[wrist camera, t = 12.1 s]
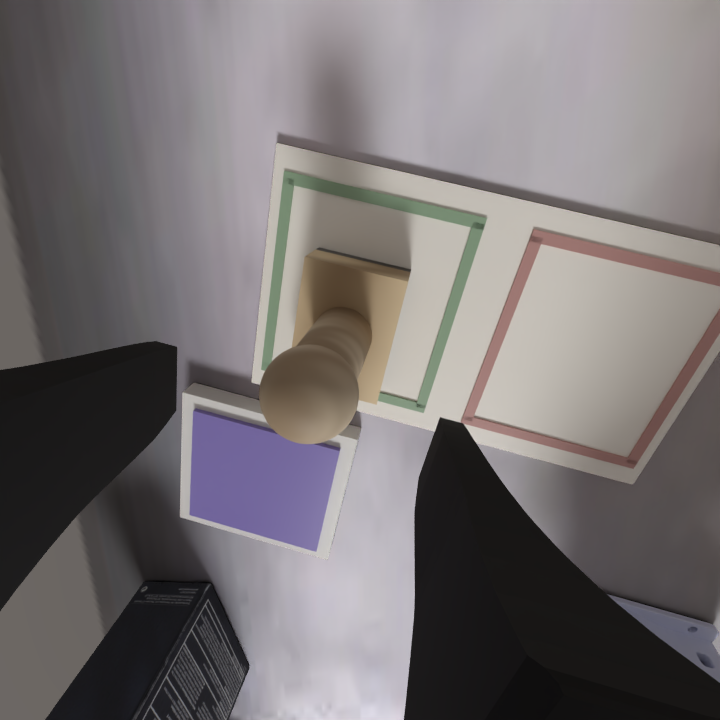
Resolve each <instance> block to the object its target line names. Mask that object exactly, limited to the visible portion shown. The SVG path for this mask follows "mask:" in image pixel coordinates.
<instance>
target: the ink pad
mask: <svg viewBox="0 0 720 720" xmlns="http://www.w3.org/2000/svg"><path fill="white" fill-rule="evenodd" d="M360 431H361V428H360V427H357V426H353V425H348V426H347V427H346V428H345V429H344V430H343V431H342V432H341V433H339V434H338V435H337V436H335V437H334V438H332V439H330V440H327V441H325V442H322V443H317V444H300V443H295V442H292V441H290V440H287V439H285V438H284V437H282V436H280V435H279V434H278V433H276V432H275V431H274V430H273V429H272V428H271V427H270V425H269V424H268V423H267V421H266V419H265V417H264V415H263V413H262V411H261V407H260V402H259V400H257V399H253V398H249V397H246V396H242V395H238V394H235V393H231V392H227V391H224V390H220V389H216V388H212V387H209V386H205V385H201V384H198V383H193V384H192V385H191V386H189V387H188V388H187V389H186V390H185V391H184V392H183V398H182V445H181V491H180V517H181V518H185V519H188V520H192V521H195V522H199V523H202V524H205V525H209V526H212V527H216V528H219V529H223V530H226V531H229V532H233V533H236V534H240V535H243V536H247V537H250V538H253V539H257V540H260V541H264V542H267V543H271V544H274V545H277V546H281V547H284V548H288V549H291V550H294V551H298V552H301V553H305V554H308V555H312V556H315V557H318V558H322V559H325V560H328V557H329V553H330V550H331V546H332V542H333V538H334V534H335V530H336V526H337V522H338V518H339V514H340V510H341V506H342V503H343V499H344V495H345V491H346V487H347V483H348V479H349V475H350V471H351V467H352V463H353V459H354V455H355V451H356V447H357V443H358V439H359V435H360Z"/></svg>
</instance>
